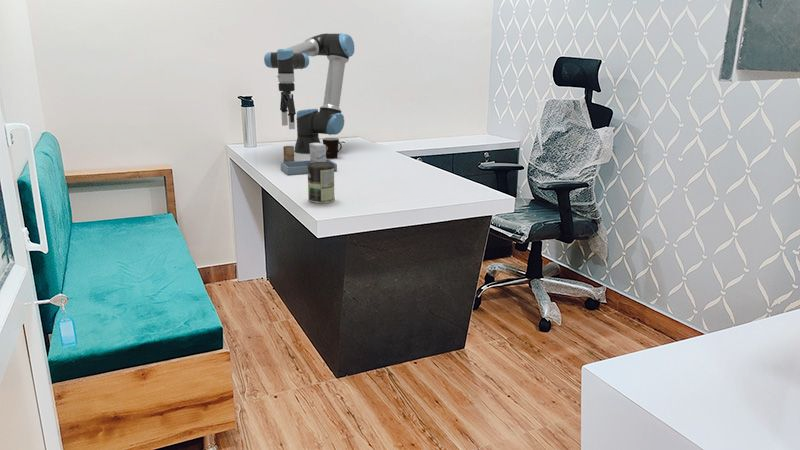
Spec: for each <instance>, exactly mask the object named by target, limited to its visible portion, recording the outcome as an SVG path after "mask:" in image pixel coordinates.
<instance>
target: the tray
mask: <svg viewBox="0 0 800 450" xmlns="http://www.w3.org/2000/svg"><path fill="white" fill-rule="evenodd" d="M326 162H330V163H333V164H334V173H336V172H338V165H337V163H335V162H334V161H332V160H331V159H326ZM309 163H310V159H309V160H298V161H295V160H294V161H293V162H284V161H282V162H280V170H281V171H282V172H283V173H284V174H286V175H287V176H296V175H308V167H307V164H309Z"/></svg>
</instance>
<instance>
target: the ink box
mask: <svg viewBox="0 0 800 450" xmlns="http://www.w3.org/2000/svg"><path fill="white" fill-rule="evenodd" d="M309 145H310V153H309V157H310V158H309V160H310V163H313V162H326V145H324V144H323V143H321V142H320V143H310V144H309Z"/></svg>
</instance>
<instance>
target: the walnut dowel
mask: <svg viewBox="0 0 800 450" xmlns="http://www.w3.org/2000/svg"><path fill="white" fill-rule="evenodd" d="M293 161H295V145H284V146H283V162H293Z"/></svg>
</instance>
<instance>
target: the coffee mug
mask: <svg viewBox="0 0 800 450" xmlns="http://www.w3.org/2000/svg"><path fill="white" fill-rule="evenodd" d="M322 144H324V145H326V159H329V160H334V159H335V160H336V159H337V158H338V153H339V152H340V151H342V148H343V146H342V143H341V142H340V138H339V137H323V138H322ZM339 146H340V148H339Z"/></svg>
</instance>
